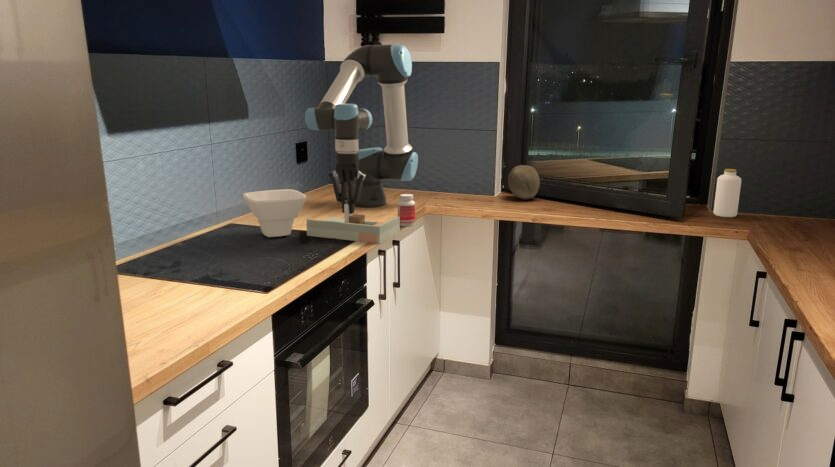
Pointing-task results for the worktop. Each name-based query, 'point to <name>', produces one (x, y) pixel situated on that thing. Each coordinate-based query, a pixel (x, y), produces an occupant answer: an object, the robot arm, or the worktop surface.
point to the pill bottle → (406, 210)
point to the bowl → (275, 209)
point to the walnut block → (357, 219)
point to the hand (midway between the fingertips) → (348, 222)
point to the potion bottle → (727, 194)
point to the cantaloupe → (524, 182)
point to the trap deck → (353, 229)
